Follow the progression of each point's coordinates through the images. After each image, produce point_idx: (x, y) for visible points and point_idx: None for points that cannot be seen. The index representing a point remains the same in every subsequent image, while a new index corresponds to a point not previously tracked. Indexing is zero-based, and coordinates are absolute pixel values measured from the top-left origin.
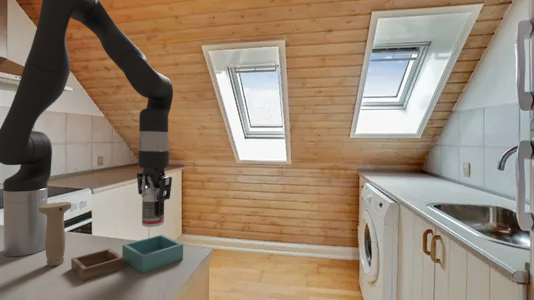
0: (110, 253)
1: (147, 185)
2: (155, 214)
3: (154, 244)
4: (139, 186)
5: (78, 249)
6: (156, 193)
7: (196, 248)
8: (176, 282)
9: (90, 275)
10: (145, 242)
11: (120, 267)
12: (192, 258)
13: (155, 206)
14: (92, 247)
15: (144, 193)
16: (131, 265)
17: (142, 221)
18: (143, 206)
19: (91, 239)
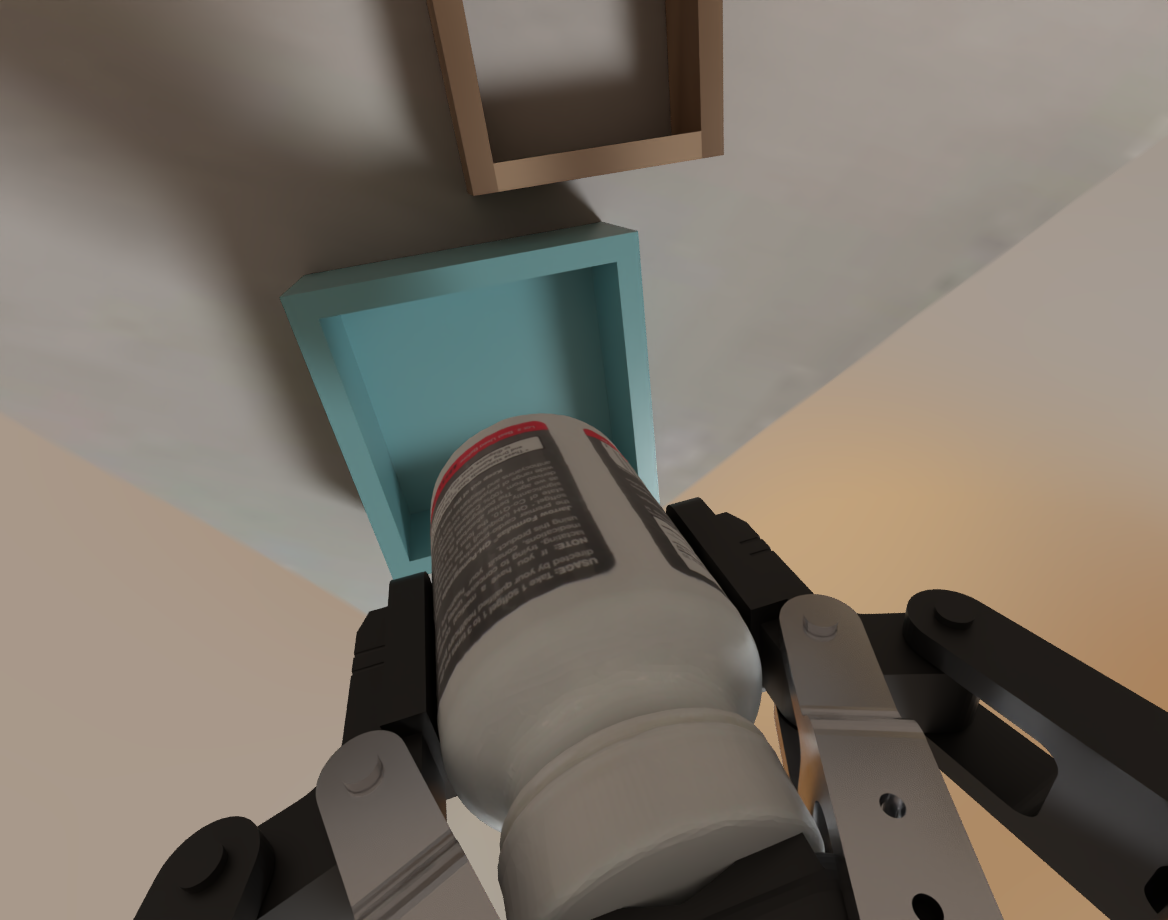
0: (644, 140)
1: (796, 899)
2: (397, 583)
3: (621, 441)
4: (1056, 704)
5: (982, 4)
6: (350, 903)
7: None
8: (59, 413)
9: None
10: (624, 395)
11: (463, 169)
12: (379, 567)
13: (399, 661)
14: (940, 105)
15: (789, 676)
16: (466, 246)
17: (541, 427)
18: (562, 529)
19: (1069, 139)
